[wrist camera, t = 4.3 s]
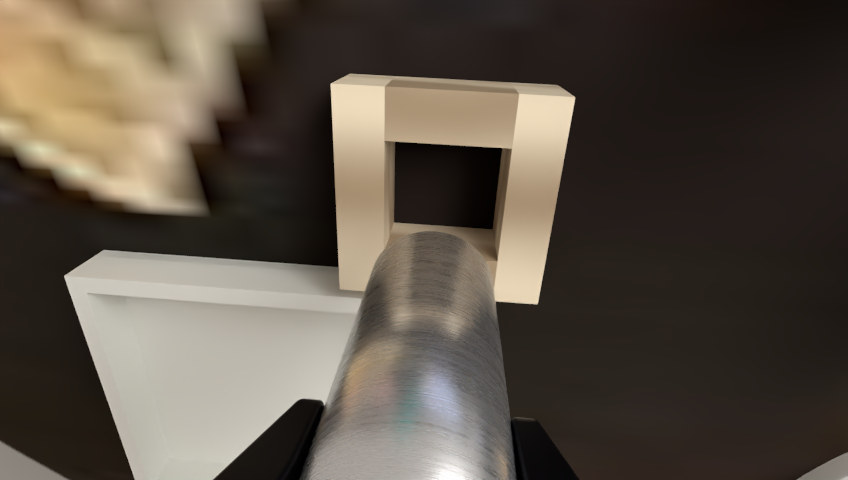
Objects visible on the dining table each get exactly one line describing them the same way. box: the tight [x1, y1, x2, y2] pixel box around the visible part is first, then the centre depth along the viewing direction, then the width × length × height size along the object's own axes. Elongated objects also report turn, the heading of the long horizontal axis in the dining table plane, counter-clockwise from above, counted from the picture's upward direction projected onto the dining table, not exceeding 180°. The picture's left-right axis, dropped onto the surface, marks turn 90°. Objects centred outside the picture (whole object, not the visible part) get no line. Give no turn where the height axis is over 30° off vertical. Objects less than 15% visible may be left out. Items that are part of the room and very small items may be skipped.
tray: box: [64, 250, 365, 480], centre depth 24 cm, size 15×15×2 cm
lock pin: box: [299, 231, 518, 480], centre depth 8 cm, size 3×3×9 cm
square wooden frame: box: [331, 74, 575, 304], centre depth 18 cm, size 8×8×3 cm
